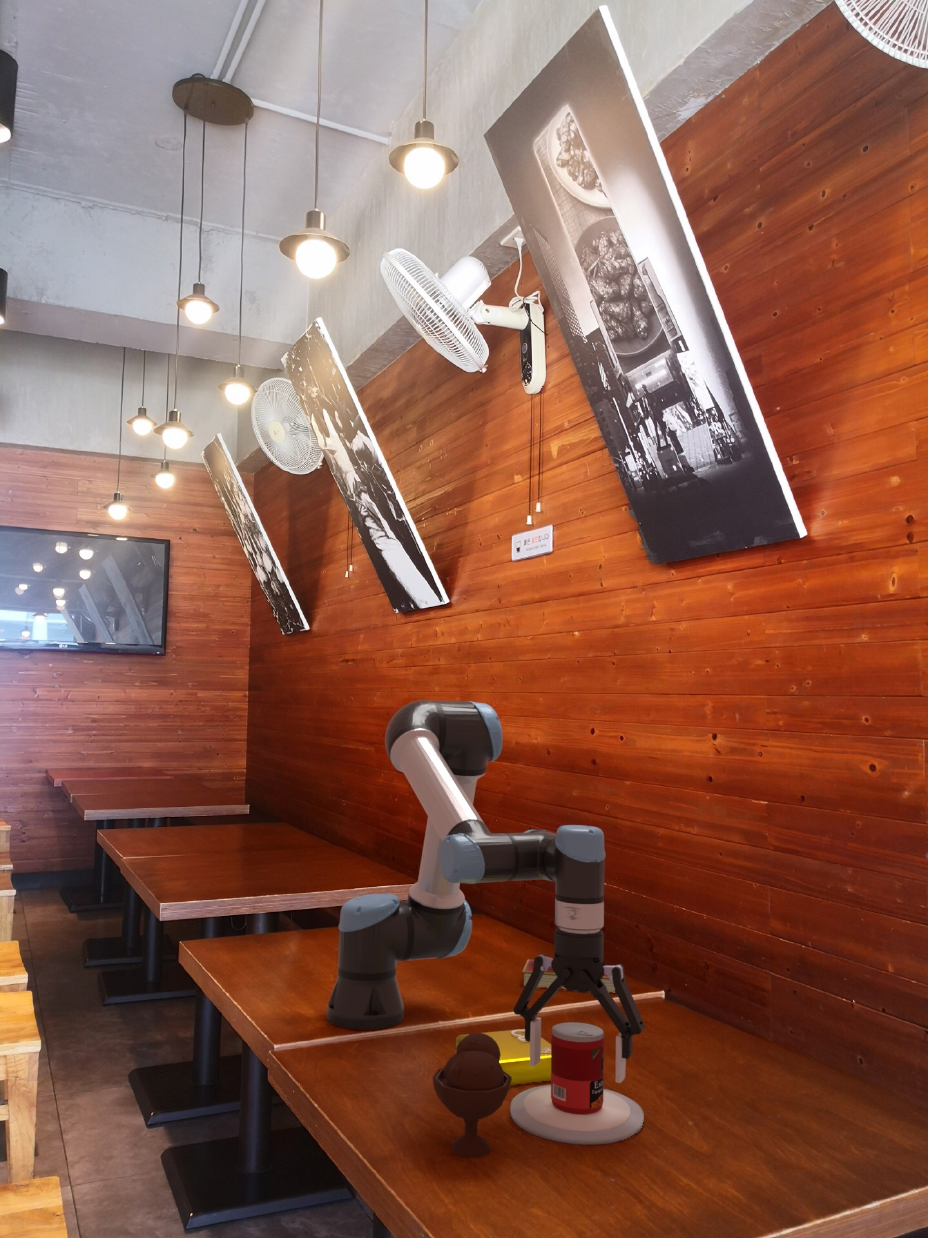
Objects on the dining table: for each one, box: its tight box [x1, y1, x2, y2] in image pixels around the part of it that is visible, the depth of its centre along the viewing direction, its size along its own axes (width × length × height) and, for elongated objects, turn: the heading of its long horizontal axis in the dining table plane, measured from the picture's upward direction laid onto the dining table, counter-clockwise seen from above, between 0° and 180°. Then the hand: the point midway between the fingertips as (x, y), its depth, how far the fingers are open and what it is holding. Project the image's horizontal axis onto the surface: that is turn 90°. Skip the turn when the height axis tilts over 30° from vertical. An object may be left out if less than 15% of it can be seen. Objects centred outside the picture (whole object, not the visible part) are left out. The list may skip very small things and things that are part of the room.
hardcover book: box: [521, 959, 616, 994], centre depth 219 cm, size 12×21×4 cm, turn 80°
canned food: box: [550, 1021, 605, 1114], centre depth 146 cm, size 8×8×11 cm
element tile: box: [455, 1028, 551, 1087], centre depth 165 cm, size 15×15×5 cm
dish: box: [510, 1084, 645, 1146], centre depth 145 cm, size 20×20×2 cm
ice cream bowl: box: [432, 1032, 512, 1158], centre depth 134 cm, size 11×11×15 cm
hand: (576, 1072), depth 146 cm, fingers open, 13 cm apart
